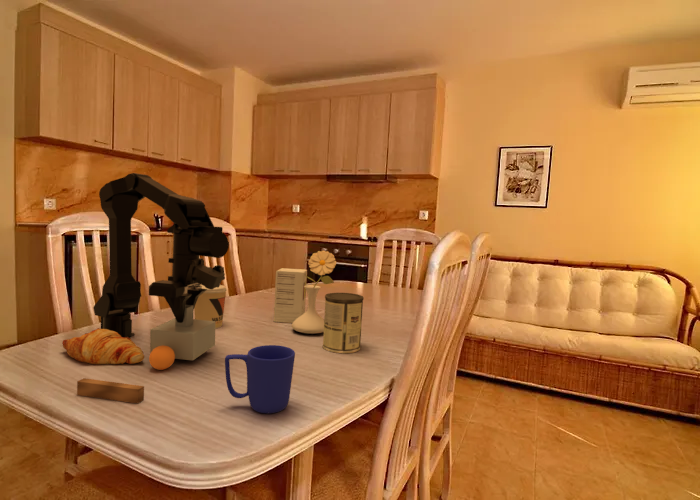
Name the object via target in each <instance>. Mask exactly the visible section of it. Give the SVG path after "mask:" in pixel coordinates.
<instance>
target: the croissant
mask: <svg viewBox="0 0 700 500" xmlns="http://www.w3.org/2000/svg"><path fill="white" fill-rule="evenodd" d="M62 346H63V347H62V348H63V349H64V350H66V354H67V355H68V356H69V357H70V358H72V359H74V360H76V361H78V362H82V363H87V364H92V365H109V364H111V365H119V364H125V363H127V364H129V365H131V364H138V363H140V362H142V361H143V360H144V359H145V355H144V351H143V350H142V348H141V347H140V346H138V345H136V343H135V342H134V341H133V340H132V339H131V338H130V337H127V338H124V337H121V336H120V335H119V334H118V333H117V332H115V331H111V330H108V329H101V327H99V328H96V329H94V330H91V331H90V332H89V333H87V332H86V333H84V334H82V335H81V336H74V337H72V338H70V339H69V338H67V339H63V340H62Z"/></svg>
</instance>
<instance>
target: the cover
mask: <svg viewBox="0 0 700 500" xmlns="http://www.w3.org/2000/svg"><path fill="white" fill-rule="evenodd" d="M149 331H150V332H149V333H150V334H149V335H150V336H149V338H150V339H149V344H150V345H149V347H150V348H149V349H150V351H149V354H150V353H151V352H152V350H153V349H155V348H156V347H158V346H163V345H164V346H168V347H170V348H172V349H173V351H174V353H175V359H177V360H184V361H185V360H186V361H194V360H196V359H197V358H198V357H200V356H201V355H203V354H205V353H206V352H207V351H209V350H210V349H212V348H213V347H215V346H216V329H215V321H207V320H197V319H195V318H194V310H193V305H186V306H185V313H184V319H183V322H182V323H178V322H177V320H176V318H175V317H174V318H172V319H169V320H167V321H165V322H162V323H161V324H159V325H157V326H155V327H153V328H150V329H149Z"/></svg>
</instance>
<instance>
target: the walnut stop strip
mask: <svg viewBox="0 0 700 500" xmlns="http://www.w3.org/2000/svg"><path fill="white" fill-rule="evenodd" d="M76 395H77V396H82V397H90V398H94V399H95V398H96V399H104V400H110V401H115V402H116V401H118V402H125V403H132V404H140V403H141V402H143V401H144V400H145V386H144V385H137V384H129V383H123V382H117V381H116V382H114V381H107V380H100V379H93V378H92V379H91V378H86V377H85V378H81V379H80V380H77V383H76Z"/></svg>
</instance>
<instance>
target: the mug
mask: <svg viewBox="0 0 700 500" xmlns="http://www.w3.org/2000/svg"><path fill="white" fill-rule="evenodd" d="M295 357H296V352H295V350H293V348H290V347H288V346H284V345H276V344H275V345H274V344H269V345H259V346H255V347H252V348H250V349H249V350H248V352H247V354H243V353H241V354H239V353H238V354H237V353H236V354H235V353H234V354H233V353H232V354H227V355H225V358H224V367H225V368H224V369H225V371H224V372H225V380H226V385H227V386H226V388H227V390H228V392H229V394H230V395H231V397H233V398H235V399H243V398H245V397H248V400H249V401H248V402H249V405H250V407H251V408H252V410H254V411H256V412H257V413H260V414H275V413H279V412H282V411H283V410H284V409H286V407H287V406H288V404H289V400H290V395H291V390H292V389H291V388H292V381H293V371H294V364H295ZM231 360H240V361H241V360H242V361H243V362H245V366H246V392H245V393H244V392H243V393H239V392H237V391H236V390H235V388H234V387H233V383H232V380H231V372H230V371H231V369H230V366H231V365H230V361H231Z"/></svg>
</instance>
